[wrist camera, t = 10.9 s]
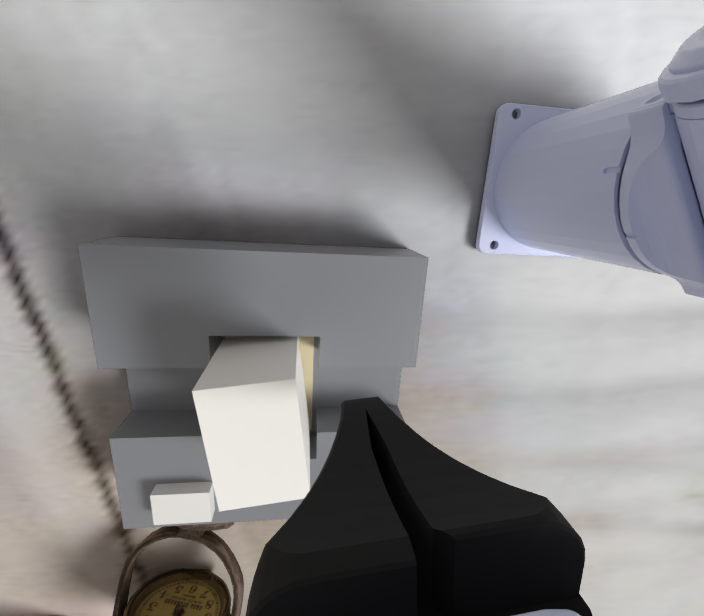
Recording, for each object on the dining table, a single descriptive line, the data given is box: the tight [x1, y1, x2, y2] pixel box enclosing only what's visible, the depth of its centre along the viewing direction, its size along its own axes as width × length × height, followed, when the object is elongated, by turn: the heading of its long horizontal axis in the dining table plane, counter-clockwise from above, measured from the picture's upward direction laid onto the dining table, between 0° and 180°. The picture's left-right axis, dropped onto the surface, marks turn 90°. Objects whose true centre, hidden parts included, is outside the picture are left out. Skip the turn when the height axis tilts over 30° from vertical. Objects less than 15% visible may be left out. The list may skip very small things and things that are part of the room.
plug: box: [192, 336, 310, 512], centre depth 18 cm, size 4×6×6 cm, turn 4°
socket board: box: [77, 237, 428, 529], centre depth 20 cm, size 16×16×4 cm
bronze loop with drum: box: [113, 522, 244, 616], centre depth 22 cm, size 7×13×10 cm
